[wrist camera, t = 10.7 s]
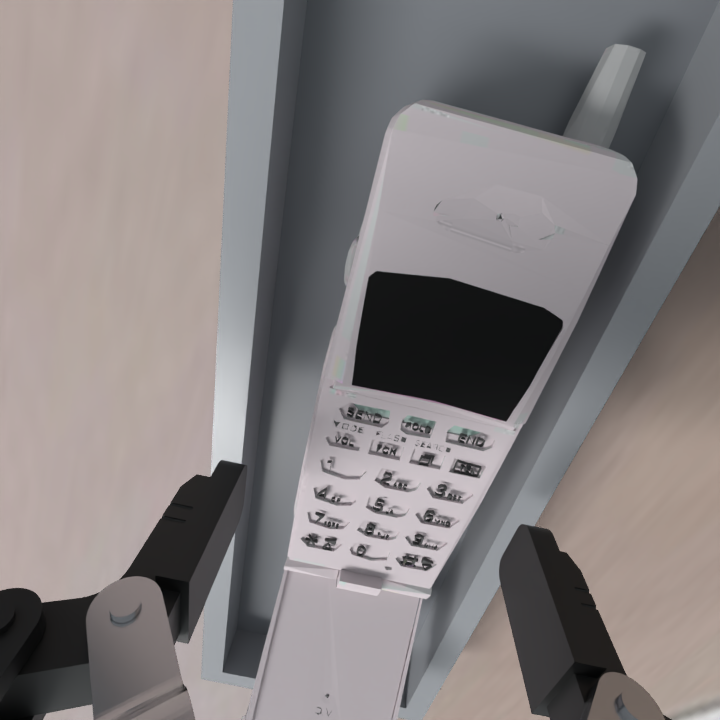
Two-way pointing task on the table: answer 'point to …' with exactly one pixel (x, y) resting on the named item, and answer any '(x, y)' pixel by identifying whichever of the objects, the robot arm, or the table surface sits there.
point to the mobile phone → (434, 376)
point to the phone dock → (342, 225)
